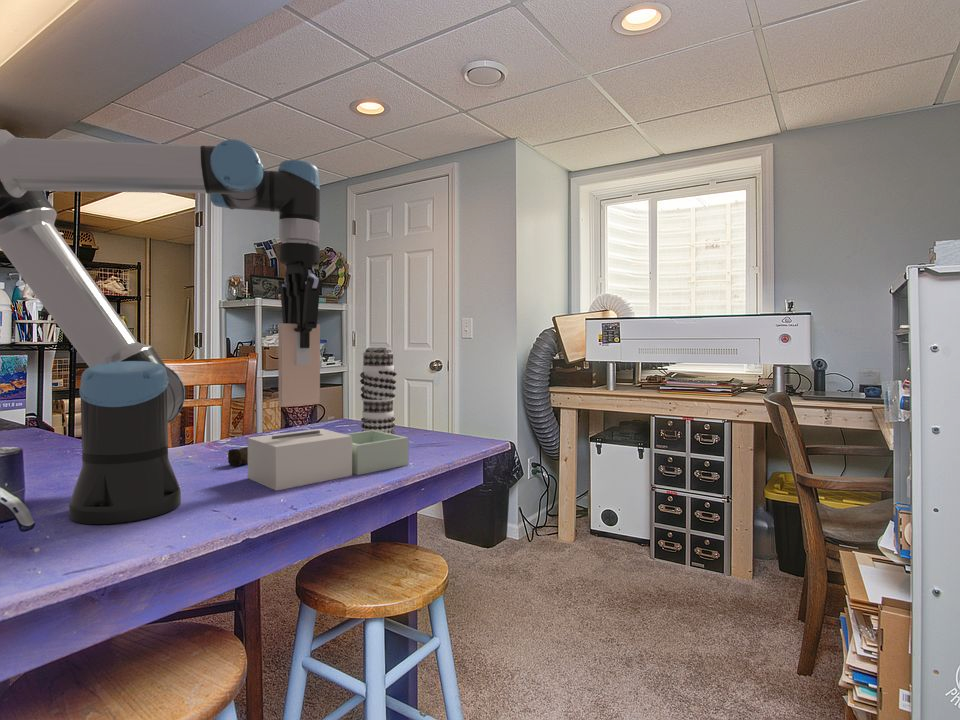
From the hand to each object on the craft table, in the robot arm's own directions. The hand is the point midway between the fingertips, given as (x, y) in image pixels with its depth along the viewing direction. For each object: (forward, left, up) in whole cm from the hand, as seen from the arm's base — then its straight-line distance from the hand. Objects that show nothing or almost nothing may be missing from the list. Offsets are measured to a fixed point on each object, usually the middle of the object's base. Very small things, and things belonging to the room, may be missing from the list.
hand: (299, 364), depth 111 cm
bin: (+16, 0, -22) cm, 27 cm away
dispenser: (0, 0, -22) cm, 22 cm away
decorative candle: (+30, +16, -23) cm, 41 cm away
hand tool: (+3, +21, -23) cm, 31 cm away
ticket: (0, 0, -8) cm, 8 cm away
